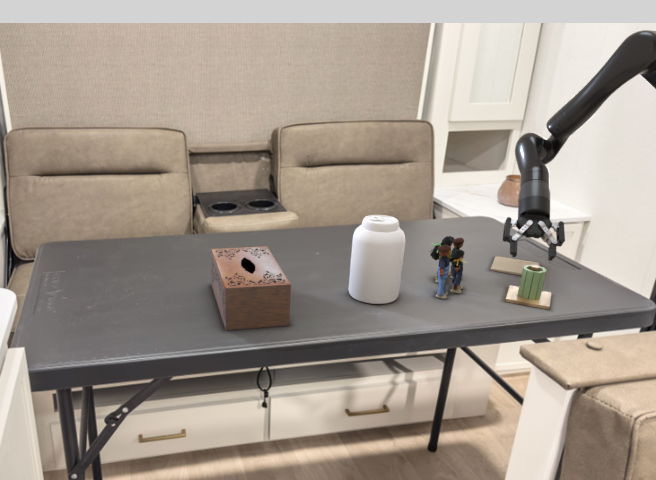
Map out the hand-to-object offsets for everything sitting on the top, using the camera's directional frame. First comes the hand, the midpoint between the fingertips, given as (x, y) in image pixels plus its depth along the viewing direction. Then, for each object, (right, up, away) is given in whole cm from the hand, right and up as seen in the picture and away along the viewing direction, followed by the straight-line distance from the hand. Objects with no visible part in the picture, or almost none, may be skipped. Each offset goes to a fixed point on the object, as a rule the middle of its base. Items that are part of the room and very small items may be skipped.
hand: (532, 257), depth 146 cm
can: (-40, -10, 0) cm, 41 cm away
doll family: (-20, -7, +6) cm, 22 cm away
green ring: (-1, -10, -1) cm, 10 cm away
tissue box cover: (-72, -12, -6) cm, 73 cm away
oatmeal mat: (+4, -1, +20) cm, 20 cm away
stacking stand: (-1, -10, 0) cm, 10 cm away
